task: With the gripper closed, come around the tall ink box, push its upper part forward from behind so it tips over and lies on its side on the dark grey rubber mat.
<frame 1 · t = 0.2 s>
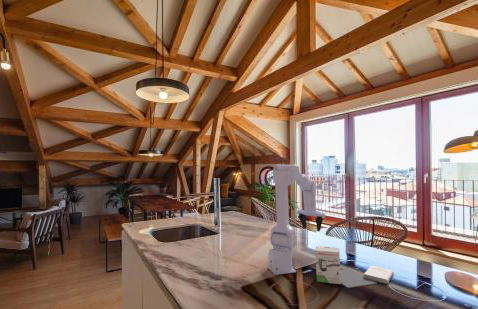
hand: (311, 229, 134), 11 cm above the cooktop, tool pointing down, fingers open, 7 cm apart
ink box: (328, 280, 98), on the cooktop, touching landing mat
external hard drive: (378, 276, 102), on the cooktop, touching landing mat
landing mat: (349, 277, 101), on the cooktop
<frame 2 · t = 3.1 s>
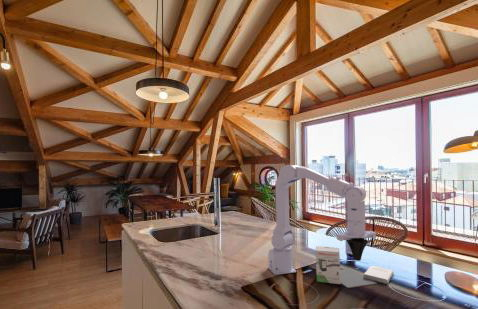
hand: (357, 259, 91), 10 cm above the cooktop, tool pointing down, fingers closed
nothing on the cooktop moved.
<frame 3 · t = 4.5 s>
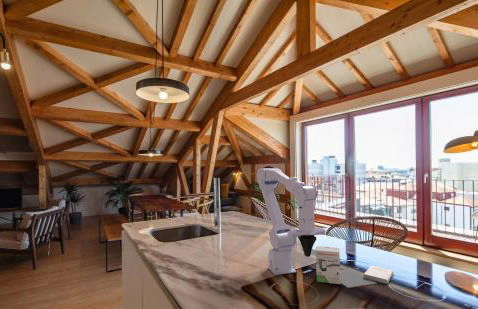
hand: (307, 255, 96), 10 cm above the cooktop, tool pointing down, fingers closed
nothing on the cooktop moved.
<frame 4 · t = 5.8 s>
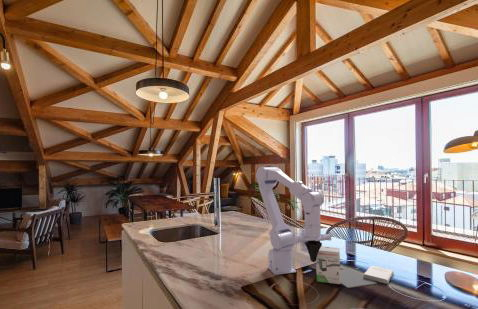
hand: (313, 261, 97), 8 cm above the cooktop, tool pointing down, fingers closed
ink box: (328, 280, 98), on the cooktop, touching gripper, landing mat
everything else where it was.
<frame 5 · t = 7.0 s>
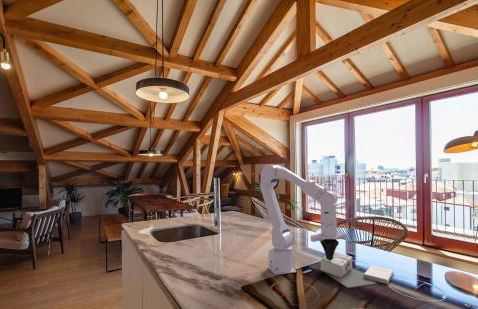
hand: (329, 259, 99), 8 cm above the cooktop, tool pointing down, fingers closed
ink box: (330, 268, 102), point 3 cm above the cooktop
everything else where it was.
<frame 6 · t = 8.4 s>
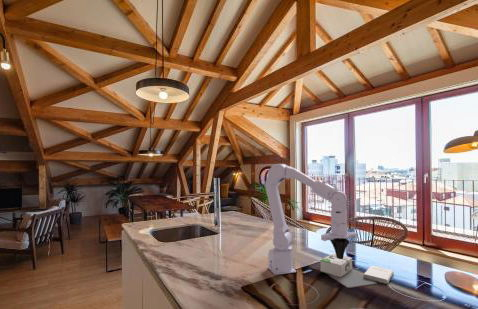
hand: (339, 258, 100), 8 cm above the cooktop, tool pointing down, fingers closed
ink box: (330, 268, 103), point 3 cm above the cooktop, touching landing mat
everything else where it was.
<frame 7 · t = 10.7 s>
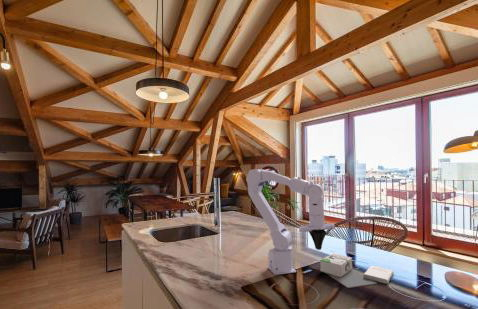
hand: (318, 249, 103), 10 cm above the cooktop, tool pointing down, fingers closed
nothing on the cooktop moved.
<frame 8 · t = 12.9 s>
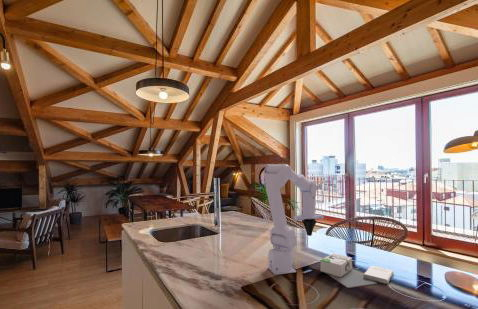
hand: (309, 235, 123), 10 cm above the cooktop, tool pointing down, fingers closed
nothing on the cooktop moved.
at the end: ink box tilted 91°; ink box inside the target area (4.1 cm from its centre), point 2.9 cm above the cooktop; ink box touching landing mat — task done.
